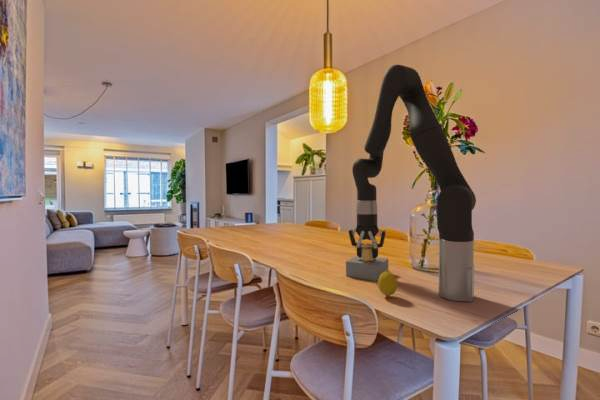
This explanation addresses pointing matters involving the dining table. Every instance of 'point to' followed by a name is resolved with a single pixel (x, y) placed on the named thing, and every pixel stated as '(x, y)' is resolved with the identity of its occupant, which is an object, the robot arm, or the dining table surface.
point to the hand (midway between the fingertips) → (367, 257)
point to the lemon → (387, 283)
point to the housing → (366, 268)
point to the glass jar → (367, 252)
